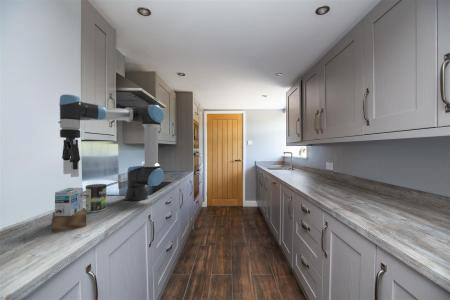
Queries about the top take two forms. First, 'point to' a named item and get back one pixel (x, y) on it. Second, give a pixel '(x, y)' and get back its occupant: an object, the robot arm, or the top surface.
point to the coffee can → (95, 197)
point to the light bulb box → (68, 201)
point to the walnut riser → (69, 221)
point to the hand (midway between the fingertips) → (70, 175)
